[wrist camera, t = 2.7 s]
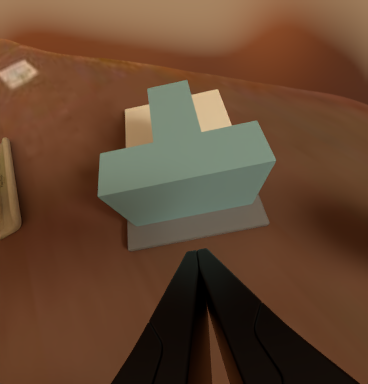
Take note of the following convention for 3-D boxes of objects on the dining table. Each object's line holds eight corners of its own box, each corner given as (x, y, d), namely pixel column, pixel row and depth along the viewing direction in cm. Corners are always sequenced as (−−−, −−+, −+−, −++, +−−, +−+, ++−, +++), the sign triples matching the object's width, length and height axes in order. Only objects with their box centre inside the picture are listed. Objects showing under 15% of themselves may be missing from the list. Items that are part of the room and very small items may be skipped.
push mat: (267, 225, 20) (269, 223, 19) (130, 251, 20) (128, 250, 19) (217, 93, 30) (217, 89, 29) (127, 113, 30) (125, 109, 29)
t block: (252, 203, 20) (276, 160, 13) (136, 226, 20) (97, 196, 13) (225, 130, 25) (232, 69, 18) (132, 149, 25) (103, 98, 18)
